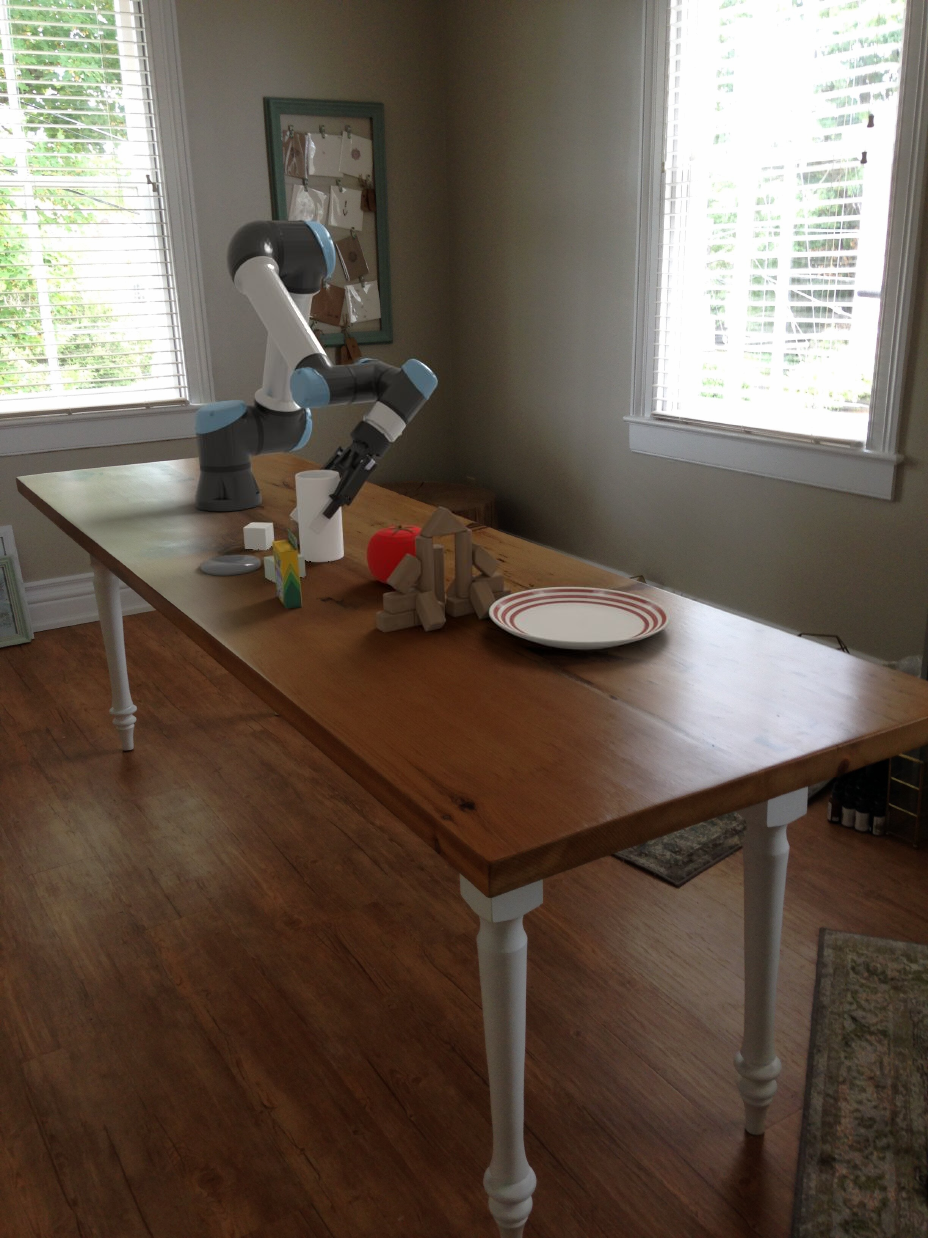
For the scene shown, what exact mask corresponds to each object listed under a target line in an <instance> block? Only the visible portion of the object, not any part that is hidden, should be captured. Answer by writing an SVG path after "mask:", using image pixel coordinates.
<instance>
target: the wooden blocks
mask: <svg viewBox="0 0 928 1238" xmlns="http://www.w3.org/2000/svg"><path fill="white" fill-rule="evenodd" d="M419 534H420V535H418V536H416V537H415V549H416V557H414V556H412V555H410V554H406V555H405V557H404V558H403V559H402V561H401V562H400V563H399V565H398V566H397V567H396V569H395V570H394V571H393V573H392V574H391V575H390V577H389V578H388V579H387V583H388V584H390V585H389V586H391V587H392V588H393V589H394V590H395V591H391V592H385V593H383V594H382V600H383V601H382V603H383V610H382V611H377V612H375V624H376V625H375V627H376V629H377V630H379V631H380V632H383V633H389V632H394V631H398V630H402V629H403V630H405V629H407V628H412V627H415V626H416V627H417V626H421V625H422V626H423V629H424V631H425V632H430V631H435V630H440V629H441V628H442V627H443V626H444V625H445V624H446V622H447V619H446V614H448V615H449V616H451V617H454V618H458V617H462V616H466V615H471V614H476V616H477V618H478V620H484V619H489V618H490V615H489V609H490V607H491V606H492V604H493V603H495V602H496V601H497V600H499V599H501V598H503V597H505V596H508V595H511V594H512V590H511V589H510V588H508V587H506V586H505V578H504V577H505V576H504V574H501V572H497V570H498V568H499V567H500V565H501V563H500V562H499V561H498V560H497V559H496V558H494V557H493V556H492V555H491V553H490V552H489V551H487V550H486V549H485V547H483V546H482V545H481V544H478V543H475V542H474V541H473V530H472V529H471V528H469V527H467V526H466V525H465V524H464V523H463V522H462V521H461V520H459V518H458V517H457V516H456V515H454V514H453V513H452V512H451V511H450V510H449V509H448V508H445V507H443V506H438V507H437V508H436V509H435V510H434V512H433V514H432V515H431V516H430V517H429V518H428V520H427V521H426V522H425V524H423V527H422V528H421V531H420V532H419ZM450 534H454V535H453V536H454V539H453V541H454V578H453V580H452V581H451V583H450V584H449V585H448V587H447V589H446V588H445V587H446V586H445V584H446V582H445V581H446V580H445V579H446V578H445V548H444V546H443V545H442V544H437V543H436V544H434V537H439V536H440V537H441V536H445V535H450ZM473 567H474V568H475V569H476V570H477V571H479V573H480V574H476V575H473ZM416 580H417V583H416V584H414V582H415V581H416ZM388 584H387V585H388Z"/></svg>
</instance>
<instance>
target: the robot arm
mask: <svg viewBox="0 0 928 1238" xmlns="http://www.w3.org/2000/svg"><path fill="white" fill-rule="evenodd" d="M332 239H333V238H332V237H331V234H330V233H329V231H328V230H327V228H326V227H325V226H324V225H323V224H321V223H320V222H318V221H310V220H304V219H298V220H264V219H257V220H251V221H249V222H247V223H244V224H243V225H241V226H240V227H239V228H238V229H237V230H236V231H235V232H234V233H233V234H232V236H231V239H230V240H229V243H228V246H227V249H226V258H225V259H226V268H227V271H228V272H227V273H228V274H229V277H230V279H231V281H232V283H233V284H234V286H235V288H236V289H237V291H239V292H240V293H241V294H243V295H245V296H247V298H248V300H249V302H250V304H251V306H252V307H253V309H254V310H255V311H256V314H257V315H258V317H259V319H260V320H261V322H262V323H263V325H264V328H266V331H267V341H266V350H265V358H264V368H263V375H262V376H263V377H262V384H261V385H262V386H261V388H259V389H258V390H256V391H255V392H254V398H253V404H250V405H247V403H246V401H244V400H242V399H241V400H240V399H230V400H221V401H217V402H213V403H209V404H206V405H202V406H201V407H200V408H198V409H197V411H196V412H195V415H194V416H195V417H194V419H195V423H194V424H195V427H194V431H195V435H196V443H197V452H198V453H197V454H198V463H199V464H198V465H199V479H198V483H197V487H196V490H195V491H196V492H195V497H194V501H195V507H196V508H197V509H199V510H202V511H207V512H210V511H211V512H232V511H240V510H242V511H243V510H247V509H248V510H249V509H251V508H255V507H257V506H260V505H261V504H262V502H263V500H262V493H261V490H260V487H259V485H258V483H257V480H256V478H255V476H254V473H253V470H252V460H251V457H257V456H263V455H264V456H265V455H271V454H279V453H282V454H283V453H284V454H285V453H289V452H293V451H297V450H300V449H302V448H303V447H305V446H306V444H307V443H308V442H309V440H310V437H311V434H312V430H313V419H311V418H312V412H311V409H323V408H327V407H334V406H343V405H353V404H355V405H356V404H362V403H371V402H372V404H371V406H370V407H369V408H368V410H367V411H366V412H365V414H364V415H363V417H362V419H363V420H360V421H358V423H357V424H356V425H355V426H354V428H353V429H352V431H351V432H350V433H349V436H350V439H351V440H352V443H351V444H349V446H347V448H344V447H343V446H342V445H341V446H338V448H337V449H336V450H335V451H334V453H333V455H332V456H331V457H330V458H329V459H328V460H327V461H326V463H324V464H323V466H321V468H320V469H319V470H332V471H337V472H339V478H340V482H339V484H338V486H337V488H336V490H335V492H334V494H330V495H329V497H330V498H331V499H333V500H331V499H330V498H328V499H327V500H326V501H325V503H324V504H323V505H322V507H321V508H320V509H319V510H318V512H317V513H316V514H315V515H314V517H313V518H312V519H311V521H310V522H309V523H308V524H307V526H309V527H310V528H311V529H312V530H313V531H315V532H316V533H317V534H320V532H321V531H322V530H323V528H324V527H325V526H326V525H327V523H328V522H329V521H330V519H331V518H332V517H333V516H334V514H335V513H336V512H337V511H338V509H339V508H340V506H341V508H343V507H344V506H346V507H349V506H351V504H352V503H353V501H354V499H355V498H356V496H357V495H358V493H359V492H360V490H361V489H362V487H363V486H364V484H365V482H366V481H367V480H368V478H369V477H370V475H371V474H372V472H374V470H375V469H377V467H378V465H379V464H378V463H377V462H376V461H375V460H374V459H378V460H379V459H382V458H383V457H384V456H385V454H386V453H387V452H388V450H389V449H390V448H391V447H392V446H391V445H392V444H391V442H392V443H394V442H395V441H396V440H397V438H398V437H399V436H402V435H403V431H404V429H405V428H406V427H407V426H408V425H409V423H410V422H411V421H412V420H413V418H414V417H415V415H417V413H418V412H419V410H421V408H422V407H423V406H424V404H425V403H427V401H428V400H429V399H430V397H431V395H432V394H433V392H434V391H435V389H436V388H437V386H438V382H439V381H438V378H437V376H436V375H435V373H434V372H433V371H432V370H431V368H429V367H428V366H427V365H426V364H425V363H423V362H422V361H420V360H417V359H415V358H410V359H408V360H407V361H406V362H405V363H404V364H402V365H401V368H400V367H396V366H394V365H390V364H388V363H386V362H384V361H382V360H379V359H374V358H369V357H368V358H367V357H365V358H362V359H360V360H358V361H357V362H355V363H353V364H340V365H339V364H337V365H334V364H333V363H332V361H331V359H330V358H329V356H328V355H327V352H325V350H324V348H323V347H322V345H321V344H320V342H319V340H318V339H317V337H316V335H315V333H314V332H313V330H312V329H311V327H310V325H309V324H310V317H311V308H312V302H313V301H312V300H313V297H314V296H315V295H317V294H318V293H319V292H320V291H321V288H322V279H323V280H326V279H328V278H330V277H331V276H332V275H333V273H334V272H335V268H336V267H335V266H336V251H335V245H334V243H333V240H332ZM289 517H290V518H291V519H292V518H293V519H294V520H295V521H296V522H298V510H297V505H296V506H295V508H294V509H293V510H292V512H291V513H290V514H289Z"/></svg>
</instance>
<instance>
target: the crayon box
mask: <svg viewBox="0 0 928 1238" xmlns="http://www.w3.org/2000/svg"><path fill="white" fill-rule="evenodd" d="M286 530H287V531H286V532H287V539H283V540H274V541H273V542H272V545H273V546H272V552H273V553H272V554H273V555H274V565H275V577H276V583H275V587H276V595H277V597H278V599H279V600H280V602H281V603H282V604H283V606H284V607H285V609H286V610H288V609H296V608H302V607H303V598H302V587H301V578H300V574H299V562H298V554H299V552H298V551H299V550H298V544H297V539H296V538H295V536H294V535H293V534H292V533H291V532H290V529H289V528H287V529H286ZM291 537H292V538H293V539H294V542H292V540H291ZM273 555H272V556H273Z"/></svg>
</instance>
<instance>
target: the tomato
mask: <svg viewBox="0 0 928 1238" xmlns="http://www.w3.org/2000/svg"><path fill="white" fill-rule="evenodd" d="M421 529H422V528H421V527H419V526H417V525H416V526H415V525H402V524H399V525H398V524H395V525H394V526H393V525H392V526H388V527H385V528H381V529H379V530H378V531H376V532H375V533H374V534H373V535H371V538H370V539H369V541H368V543H367V544H368V545H367V549H366V562H367V567H368V569H369V571H370V574H371V575H372V577H374V578H375V579H376V580H377V581H379V582H381V583H382V584H385V585H389V586H391V585H390V584H388V583H387V579H388V578H389V577H390V575H391V574H392V573H393V571H394V570H395V569H396V567H397V566H398V565H399V563H400V562H401V561H402V559H403V558H404V557H405V555H406V554H410V555H412V556H414V557H416V549H415V537H416V536H418V535H420V534H419V532H420V531H421ZM414 584H417V580H416V581H415V582H414Z"/></svg>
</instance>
